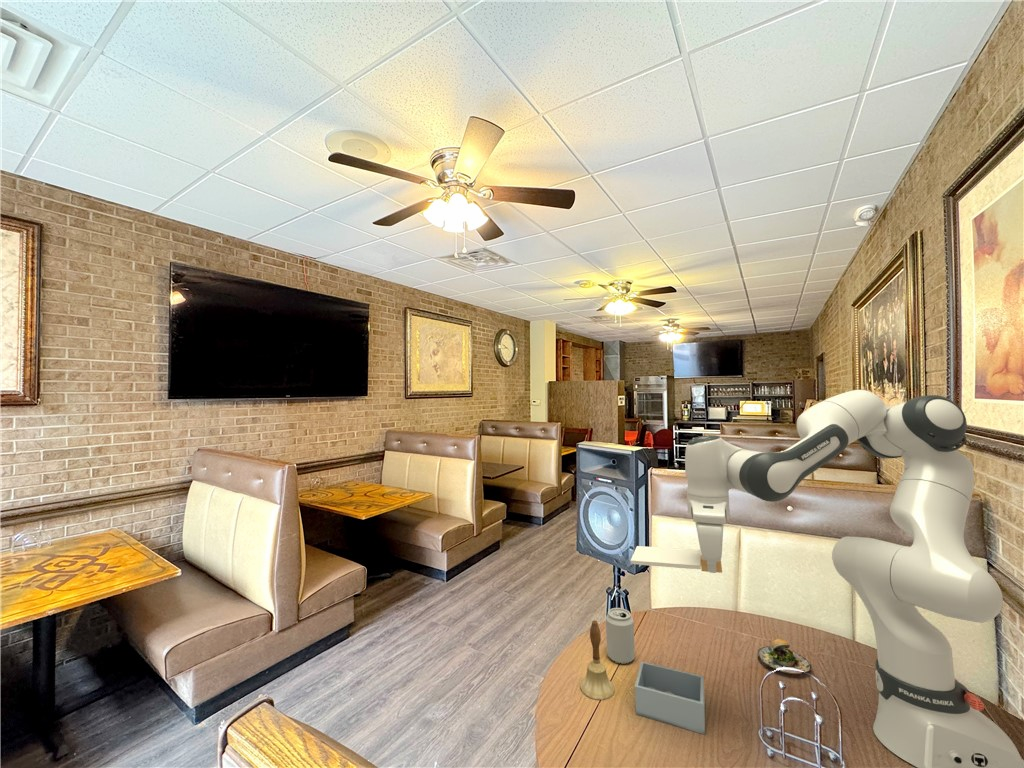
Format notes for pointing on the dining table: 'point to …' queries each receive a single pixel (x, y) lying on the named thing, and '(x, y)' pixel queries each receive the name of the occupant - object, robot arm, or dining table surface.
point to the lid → (671, 558)
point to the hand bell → (596, 671)
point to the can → (620, 635)
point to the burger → (782, 657)
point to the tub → (671, 696)
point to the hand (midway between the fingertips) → (711, 567)
